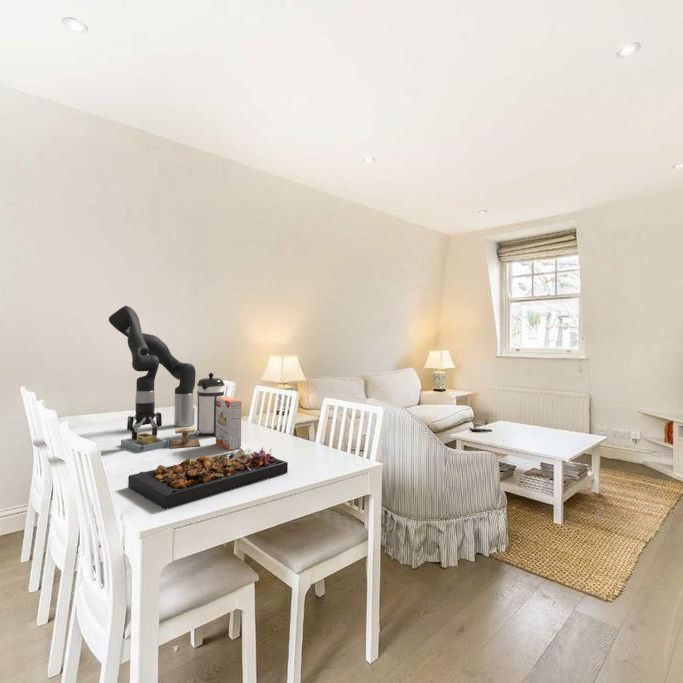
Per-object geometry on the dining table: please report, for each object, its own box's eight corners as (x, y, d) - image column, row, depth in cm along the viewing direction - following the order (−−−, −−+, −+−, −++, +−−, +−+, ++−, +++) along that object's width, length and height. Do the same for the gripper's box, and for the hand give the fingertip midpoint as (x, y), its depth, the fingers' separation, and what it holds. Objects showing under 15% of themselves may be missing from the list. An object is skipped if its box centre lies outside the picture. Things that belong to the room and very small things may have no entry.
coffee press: (232, 435, 207) (233, 373, 207) (199, 439, 198) (200, 374, 198) (220, 428, 222) (221, 370, 221) (189, 431, 213) (190, 371, 212)
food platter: (246, 460, 168) (246, 434, 168) (287, 474, 152) (288, 445, 152) (128, 489, 135) (128, 457, 134) (165, 511, 118) (165, 474, 118)
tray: (120, 445, 184) (120, 439, 184) (147, 440, 194) (147, 435, 194) (141, 452, 174) (141, 446, 174) (168, 446, 184) (168, 441, 184)
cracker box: (214, 444, 190) (215, 397, 190) (227, 442, 194) (228, 396, 193) (228, 450, 179) (228, 401, 179) (241, 448, 183) (242, 400, 183)
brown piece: (197, 439, 196) (198, 425, 196) (200, 446, 185) (200, 431, 185) (169, 442, 192) (170, 427, 192) (170, 448, 181) (170, 433, 181)
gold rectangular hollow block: (132, 444, 184) (132, 435, 184) (145, 441, 189) (146, 432, 189) (145, 448, 178) (145, 438, 178) (158, 445, 183) (158, 436, 183)
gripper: (133, 403, 176) (132, 443, 176) (165, 400, 187) (164, 436, 187) (124, 402, 180) (123, 440, 181) (156, 398, 192) (155, 434, 192)
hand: (144, 438), depth 184 cm, fingers open, 8 cm apart
